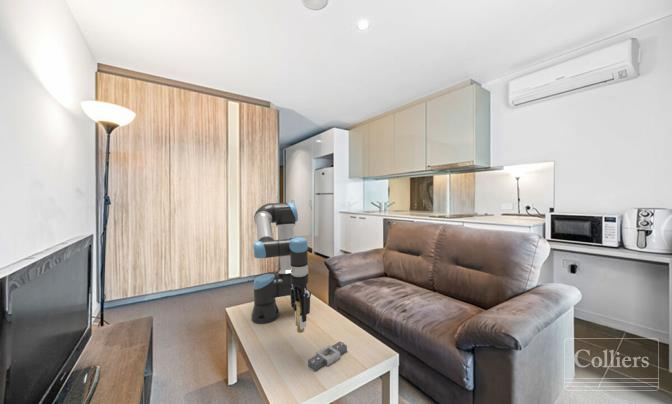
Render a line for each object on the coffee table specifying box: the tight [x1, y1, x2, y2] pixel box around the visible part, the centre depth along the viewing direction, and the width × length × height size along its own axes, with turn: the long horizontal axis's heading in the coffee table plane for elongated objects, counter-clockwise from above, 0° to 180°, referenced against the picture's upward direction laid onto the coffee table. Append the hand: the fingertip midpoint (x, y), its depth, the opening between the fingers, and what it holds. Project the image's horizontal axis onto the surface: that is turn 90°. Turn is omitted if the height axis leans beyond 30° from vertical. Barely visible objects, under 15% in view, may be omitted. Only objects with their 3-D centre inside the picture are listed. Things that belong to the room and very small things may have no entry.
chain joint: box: [307, 341, 348, 372], centre depth 108 cm, size 18×7×3 cm, turn 133°
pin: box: [295, 300, 305, 334], centre depth 112 cm, size 4×4×14 cm
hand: (300, 326), depth 112 cm, fingers closed on pin, 3 cm apart
